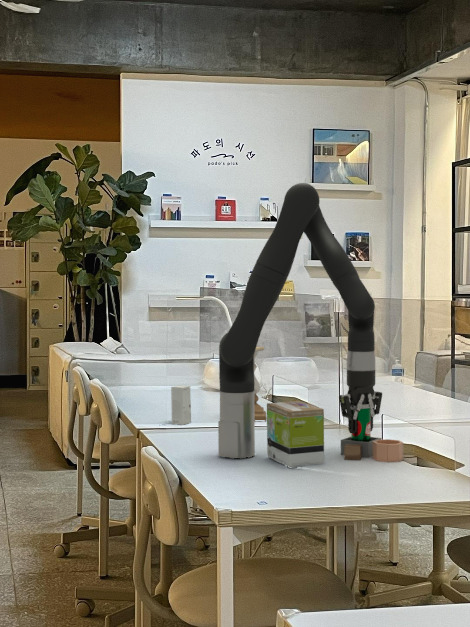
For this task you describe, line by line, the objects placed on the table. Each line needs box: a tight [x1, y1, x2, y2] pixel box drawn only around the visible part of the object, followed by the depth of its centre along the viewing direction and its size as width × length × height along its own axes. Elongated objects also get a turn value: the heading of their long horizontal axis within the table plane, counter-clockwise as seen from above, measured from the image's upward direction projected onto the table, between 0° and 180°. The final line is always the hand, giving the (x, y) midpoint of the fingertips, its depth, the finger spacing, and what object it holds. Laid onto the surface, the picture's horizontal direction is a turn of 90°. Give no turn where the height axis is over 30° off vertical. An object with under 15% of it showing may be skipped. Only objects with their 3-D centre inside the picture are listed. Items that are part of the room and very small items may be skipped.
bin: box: [340, 436, 382, 459], centre depth 253 cm, size 8×8×4 cm
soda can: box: [350, 404, 372, 442], centre depth 253 cm, size 5×5×12 cm
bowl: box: [372, 439, 404, 463], centre depth 246 cm, size 7×7×5 cm
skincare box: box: [170, 384, 192, 426], centre depth 309 cm, size 6×4×12 cm
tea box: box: [266, 400, 325, 467], centre depth 246 cm, size 15×10×15 cm, turn 21°
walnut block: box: [343, 444, 362, 461], centre depth 247 cm, size 4×4×4 cm
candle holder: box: [254, 346, 267, 421], centre depth 317 cm, size 11×11×24 cm
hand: (360, 431), depth 253 cm, fingers closed on soda can, 5 cm apart
